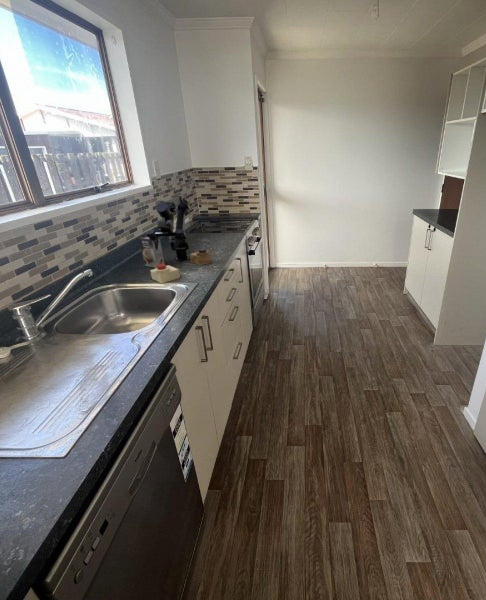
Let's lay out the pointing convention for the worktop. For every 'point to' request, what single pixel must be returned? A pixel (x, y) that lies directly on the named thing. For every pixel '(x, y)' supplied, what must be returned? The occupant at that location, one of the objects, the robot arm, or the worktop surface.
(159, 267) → the knob
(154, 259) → the coffee box
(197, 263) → the oak block
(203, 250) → the knob
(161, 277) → the cream block
